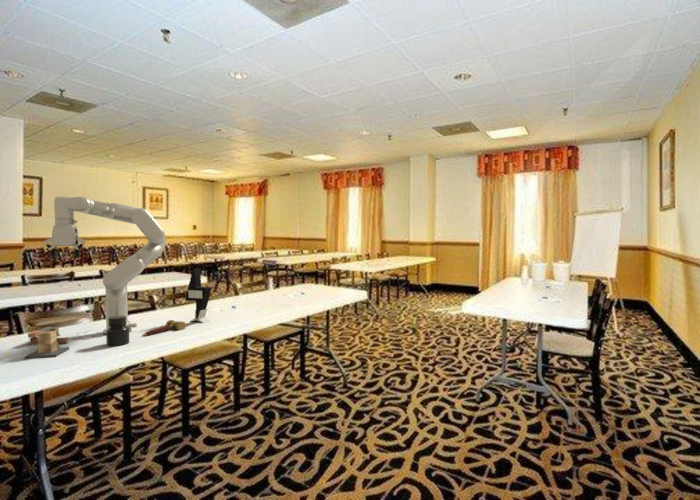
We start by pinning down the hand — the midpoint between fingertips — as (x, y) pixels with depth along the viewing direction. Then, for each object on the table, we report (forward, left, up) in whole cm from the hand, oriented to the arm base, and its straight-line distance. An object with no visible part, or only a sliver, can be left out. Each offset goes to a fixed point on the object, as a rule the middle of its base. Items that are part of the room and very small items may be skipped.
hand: (65, 258), depth 189 cm
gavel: (-43, +2, -39) cm, 58 cm away
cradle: (-2, +18, -38) cm, 42 cm away
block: (-6, +31, -37) cm, 49 cm away
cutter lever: (+8, +7, -35) cm, 36 cm away
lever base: (+8, +5, -38) cm, 39 cm away
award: (-57, -20, -38) cm, 72 cm away
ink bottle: (-29, +21, -38) cm, 53 cm away
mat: (-6, +31, -38) cm, 50 cm away
